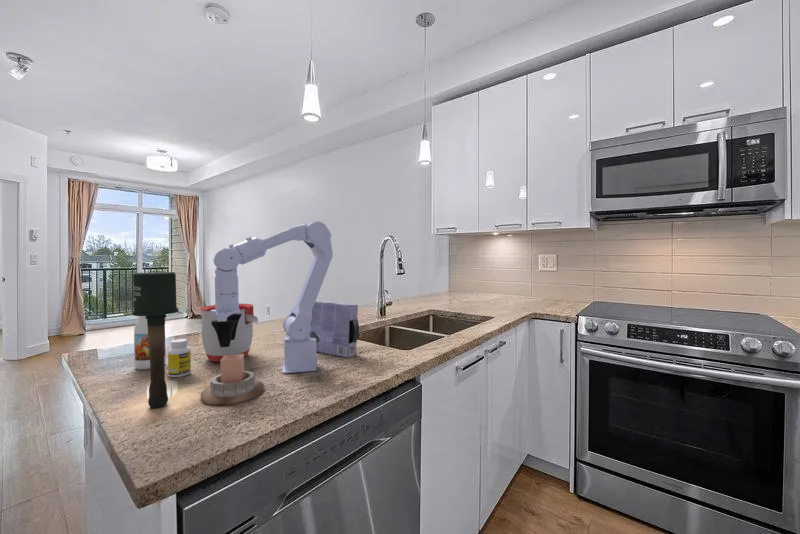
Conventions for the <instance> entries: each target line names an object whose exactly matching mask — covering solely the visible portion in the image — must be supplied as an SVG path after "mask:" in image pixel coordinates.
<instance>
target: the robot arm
mask: <svg viewBox="0 0 800 534" xmlns="http://www.w3.org/2000/svg"><path fill="white" fill-rule="evenodd" d="M331 237H332V233H331V231H330V229H329V228H328V227H327V225H326V224H325V223H324V222H323V221H313V222H311V223H305V224H304V223H303V224H300V225H295V226H293V227H290V228H287V229H284V230H282V231H280V232H278V233H275V234H273V235H270V236H268V237H265V238H263V239H262V238H259V237H257V236H256V237H252V236H249V237H246V238H245V240H244V241H241V242H239V243H237V244H234V245H233V244H229V245H228V248H227V247H226V248H223V249H220V250H219V251H217V252H216V253H215V255H214V258H213V264H214V266H215V269H214V275H215V276H214V305H215V310H211V311H210V313H215V314H216V315H217V320H213V321H211V324H212V326H213V327H214V329H215V331H216V333H217V337H218V340H219V344H220V347H229V346H230V342H231V340H234V339H235V336H236V330H237V325H238V322H239V319H240V317H241V315H242V314H241V313H238V312H240V309H239V300H240V299H239V276H238V266H239V264H240V265H245V264H248V263H250V262H252V261H254V260H258V259H260V258H263V257H265V255H266V253H267V250H270V249H272V248H274V247H277V246H280V245H283V244H285V243H288V242H291V241H297V242H299V241H303V243H305V244H306V245H307V246H308V247H309V249H310V250H311V252H312V254H313V256H314V257H313V259H312V261H311V264H310V267H309V270H308V272H307V275H306V278H305V280H304V283H303V285H302V287H301V290H300V293H299V295H298V298H297V300H296V302H295V303H296V304H295V305H294V306H293V307H292V309H291V311H290V313H289V315H288V316H286V317H285V319H284V320H283V323H282V327H283V331H284V332H285V333H286V335H284V338H283V349H284V350H283V351H284V352H283V355H284V357H283V358H284V360H283V361H284V363H283V366H282V374H291V373H292V374H293V373H305V372H315V371H318V370H317V369H318V366H317V365H318V364H317V363H318V356H317V352H316V338H309V334H310V332H311V320H312V309H313V307H314V304H315V301H316V300H318V299H317V298H318V296H319V293H320V291H321V288H322V285H323V282H324V280H325V278H326V274H327V272H328V269H329V268H330V267H329V266H330V265H331V262H332V259H333V246H332V240H331Z"/></svg>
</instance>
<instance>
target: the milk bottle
mask: <svg viewBox="0 0 800 534" xmlns="http://www.w3.org/2000/svg"><path fill="white" fill-rule="evenodd" d="M145 317H146V316H138V318H137V321H136V322H135V324H134V329H133V352H134V358H133V359H134V368H135V369H136V370H145V371H146V370H150V345H149V342H148V326H147V319H146V318H145ZM166 358H167V357H166V340H165V341H164V364H165V365H166V360H167V359H166Z"/></svg>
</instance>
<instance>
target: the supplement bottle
mask: <svg viewBox="0 0 800 534" xmlns="http://www.w3.org/2000/svg"><path fill="white" fill-rule="evenodd" d="M188 341H189V340H188V339H187V338H179V339H173V340H171V342H170V347H171V348H170V349H168V351H167V370H168V371H167V373H168V374H167V375H168V377H170V378H181V377H185V376H188V375H190V374H191V371H192V369H191V368H192V367H191V364H192V363H191V362H192V361H191V348H190V347H189V346H188V345H189V344H188V343H189V342H188Z"/></svg>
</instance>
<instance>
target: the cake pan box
mask: <svg viewBox="0 0 800 534" xmlns="http://www.w3.org/2000/svg"><path fill="white" fill-rule="evenodd" d="M358 308H359V307H358V304H355V303H354V304H353V303H347V302H346V303H344V302H337V301H329V300H328V301H327V300H319V299H316V301H315V304H314V307H313V309H312V320H311V332H310V334H309V338H316V353H317V352H318V353H322V354H325V355H326V354H327V355H329V356H330V355H331V356H336V357H337V356H338V357H343V358H347V359H350V358H352V357H355V356H357V341H358V339H359V336H360V325H359V320H358V312H359V311H358Z"/></svg>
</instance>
